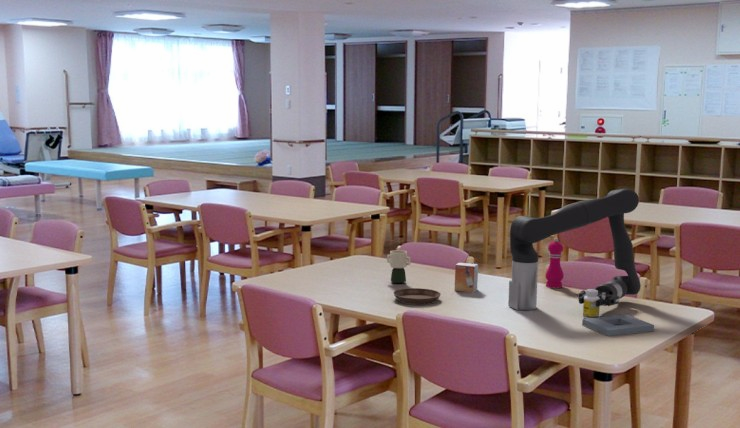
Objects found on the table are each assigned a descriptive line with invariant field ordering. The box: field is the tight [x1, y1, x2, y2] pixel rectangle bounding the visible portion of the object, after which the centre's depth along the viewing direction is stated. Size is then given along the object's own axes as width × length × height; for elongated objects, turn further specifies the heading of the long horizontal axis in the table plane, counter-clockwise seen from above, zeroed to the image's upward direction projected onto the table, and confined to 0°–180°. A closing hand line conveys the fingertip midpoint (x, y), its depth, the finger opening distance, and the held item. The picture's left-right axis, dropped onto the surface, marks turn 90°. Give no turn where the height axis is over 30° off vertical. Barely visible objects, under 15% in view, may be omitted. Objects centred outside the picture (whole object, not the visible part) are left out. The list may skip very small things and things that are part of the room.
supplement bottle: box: [582, 288, 600, 319], centre depth 283 cm, size 5×5×10 cm
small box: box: [454, 262, 479, 293], centre depth 323 cm, size 8×6×10 cm
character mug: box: [386, 249, 412, 284], centre depth 335 cm, size 11×7×13 cm, turn 59°
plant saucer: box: [393, 287, 442, 306], centre depth 307 cm, size 18×18×3 cm
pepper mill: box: [544, 237, 564, 289], centre depth 330 cm, size 7×7×20 cm
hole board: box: [581, 314, 655, 337], centre depth 272 cm, size 18×14×2 cm
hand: (588, 302), depth 281 cm, fingers closed on supplement bottle, 5 cm apart
